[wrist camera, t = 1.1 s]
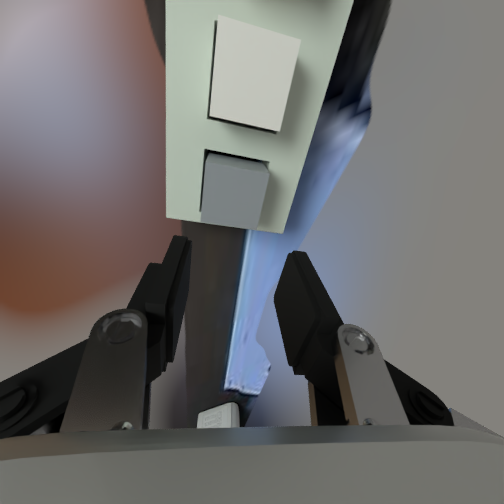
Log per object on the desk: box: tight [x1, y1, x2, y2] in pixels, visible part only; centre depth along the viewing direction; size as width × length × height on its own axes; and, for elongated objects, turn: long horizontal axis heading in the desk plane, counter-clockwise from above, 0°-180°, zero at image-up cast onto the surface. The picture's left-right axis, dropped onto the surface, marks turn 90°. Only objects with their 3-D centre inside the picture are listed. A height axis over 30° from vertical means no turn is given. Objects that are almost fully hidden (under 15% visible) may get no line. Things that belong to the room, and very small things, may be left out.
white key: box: [210, 15, 301, 132], centre depth 16 cm, size 5×5×4 cm
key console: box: [166, 0, 354, 234], centre depth 19 cm, size 24×12×4 cm, turn 169°
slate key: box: [200, 153, 270, 230], centre depth 20 cm, size 5×5×4 cm
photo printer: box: [197, 402, 239, 428], centre depth 49 cm, size 10×4×12 cm, turn 119°
